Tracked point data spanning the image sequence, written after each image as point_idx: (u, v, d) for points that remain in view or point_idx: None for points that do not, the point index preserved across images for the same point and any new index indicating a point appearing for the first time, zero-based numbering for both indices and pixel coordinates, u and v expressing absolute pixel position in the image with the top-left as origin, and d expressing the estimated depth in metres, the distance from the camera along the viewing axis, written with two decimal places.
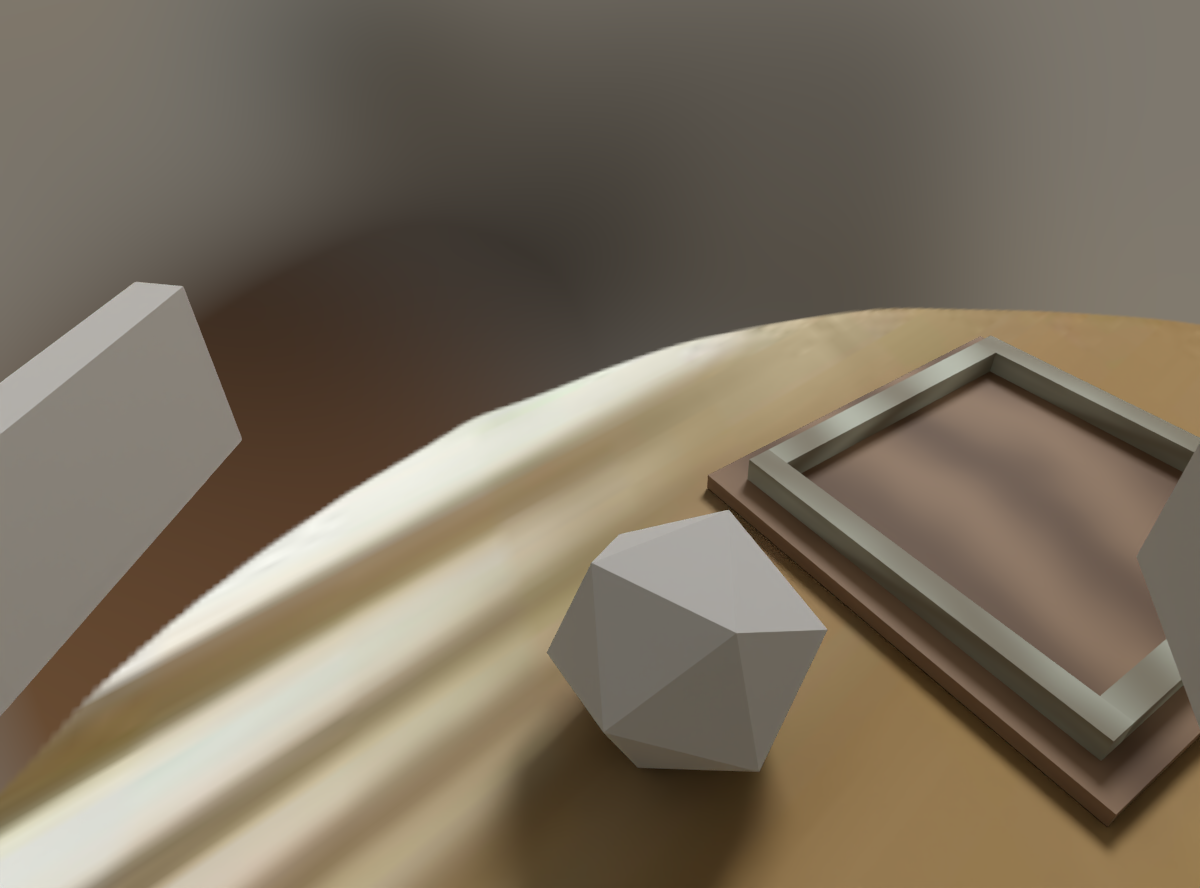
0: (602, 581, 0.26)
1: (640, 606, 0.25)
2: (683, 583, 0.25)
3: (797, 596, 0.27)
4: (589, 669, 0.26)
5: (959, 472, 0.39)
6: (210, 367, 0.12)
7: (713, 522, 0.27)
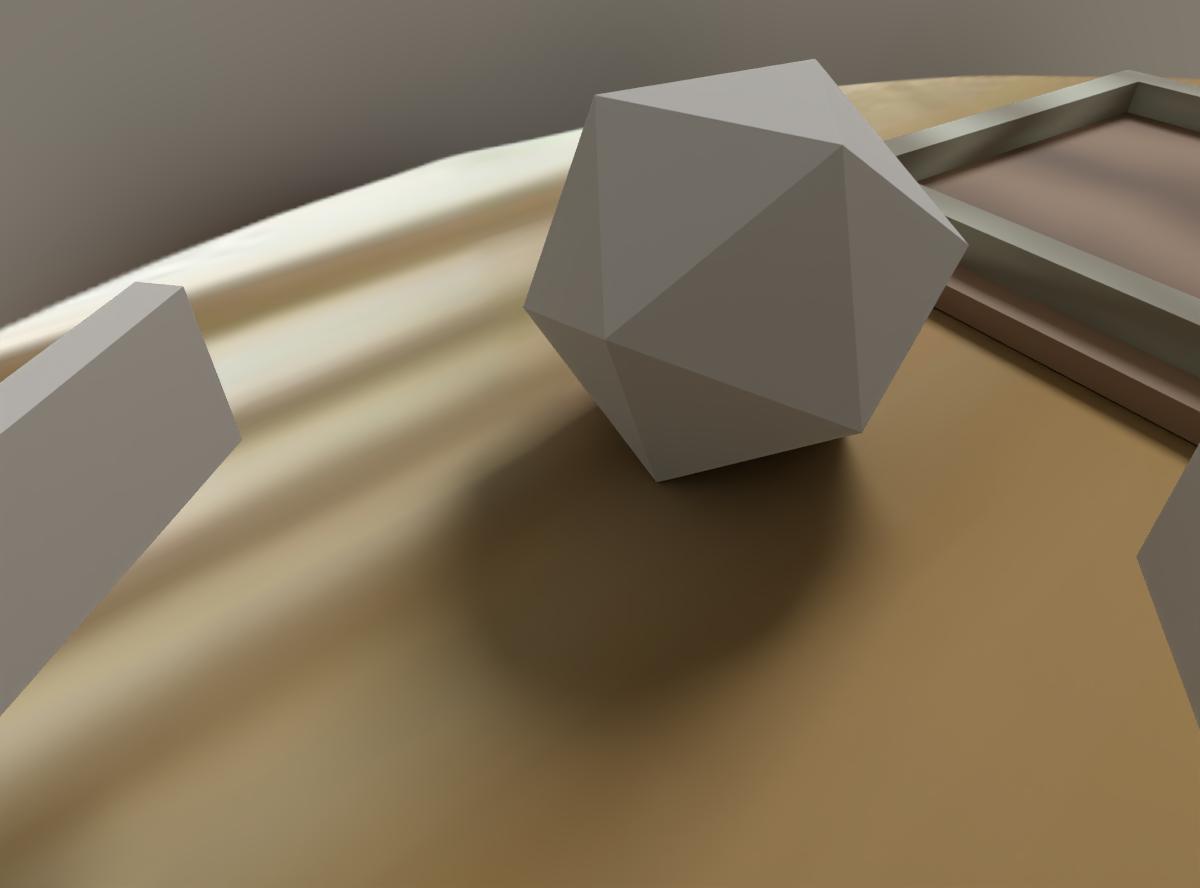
0: (611, 117, 0.16)
1: (674, 140, 0.15)
2: (746, 108, 0.15)
3: (922, 190, 0.17)
4: (585, 263, 0.16)
5: (1105, 191, 0.28)
6: (210, 367, 0.12)
7: (791, 67, 0.17)
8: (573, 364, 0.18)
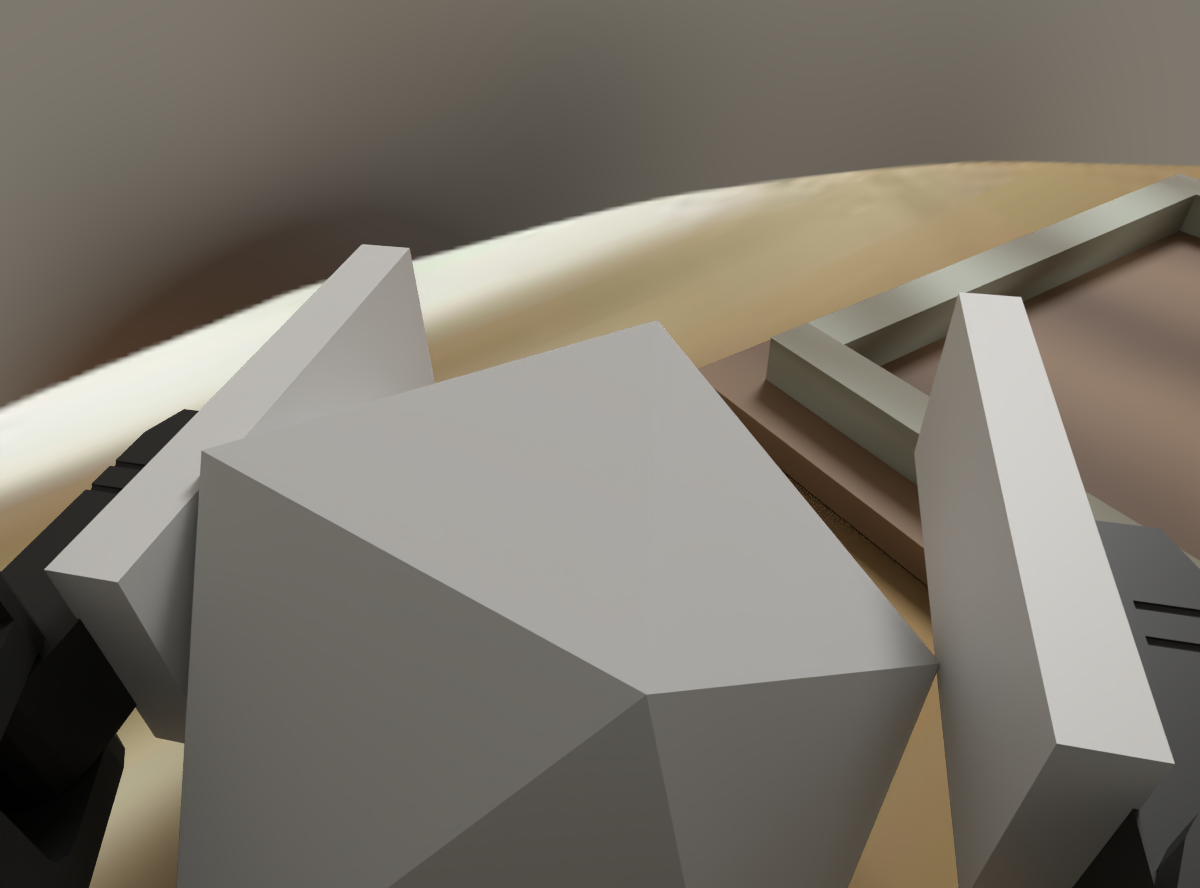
0: (224, 508, 0.08)
1: (324, 590, 0.07)
2: (479, 509, 0.07)
3: (853, 566, 0.09)
4: None
5: (1170, 376, 0.20)
6: (421, 326, 0.13)
7: (609, 348, 0.09)
8: None
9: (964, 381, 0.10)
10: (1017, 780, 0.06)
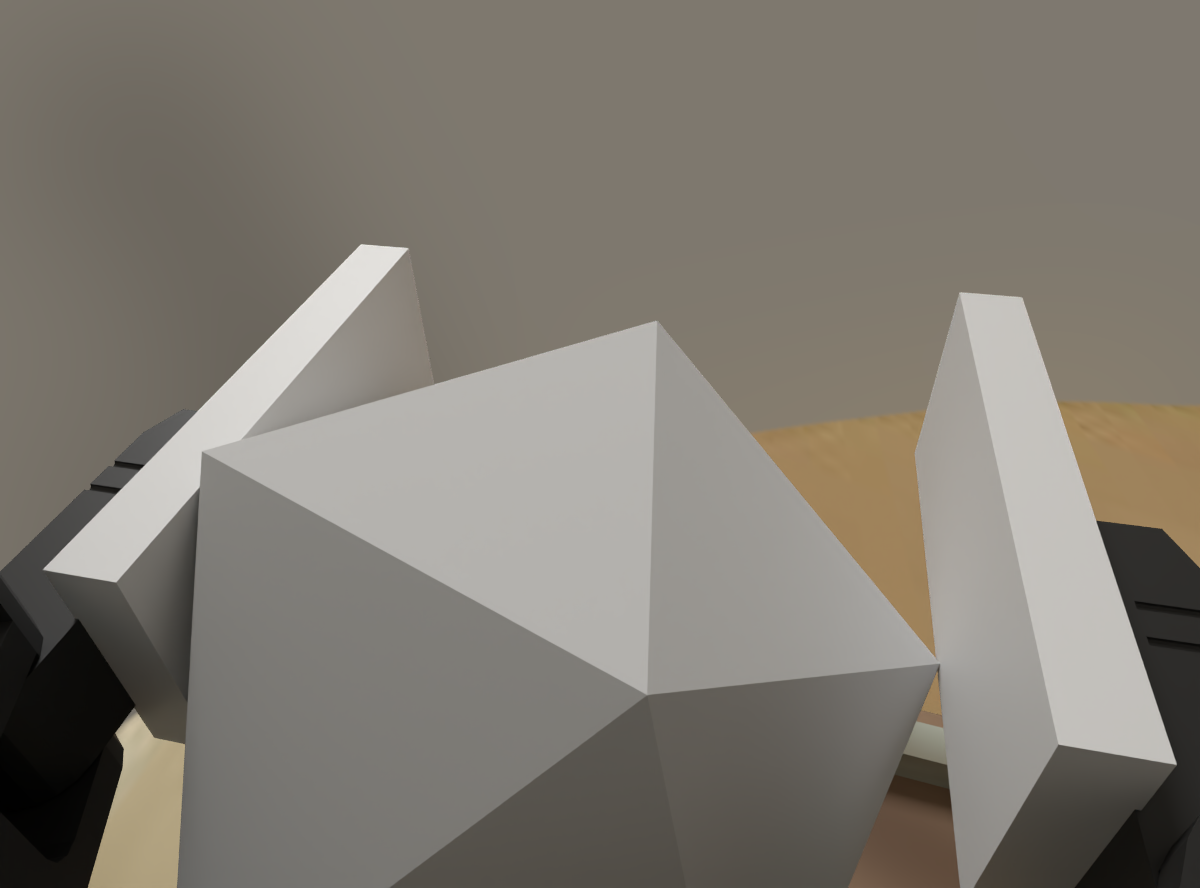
0: (224, 509, 0.08)
1: (325, 590, 0.07)
2: (479, 510, 0.07)
3: (853, 566, 0.09)
4: None
5: None
6: (421, 326, 0.13)
7: (609, 348, 0.09)
8: None
9: (965, 382, 0.10)
10: (1019, 781, 0.06)
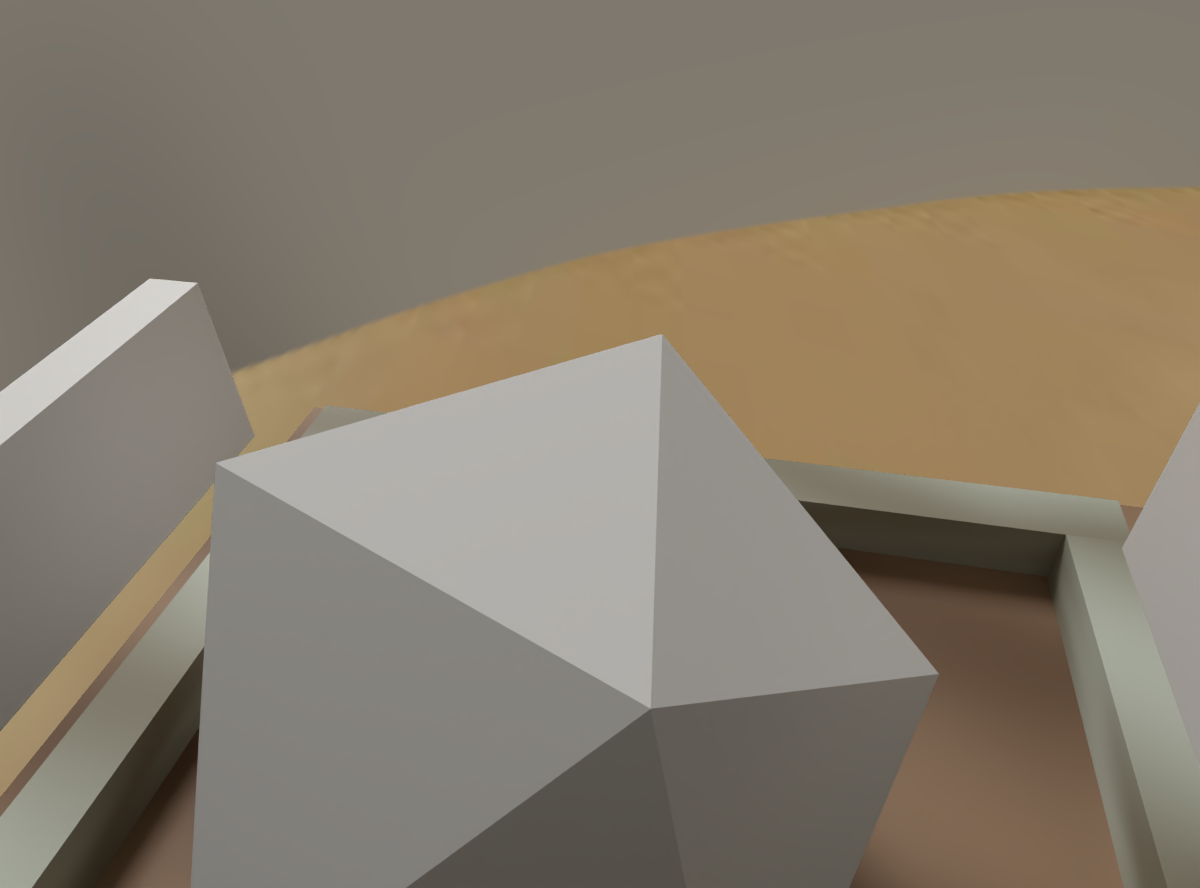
0: (237, 520, 0.08)
1: (335, 602, 0.07)
2: (487, 523, 0.07)
3: (854, 577, 0.10)
4: None
5: None
6: (223, 363, 0.12)
7: (614, 362, 0.09)
8: None
9: None
10: None
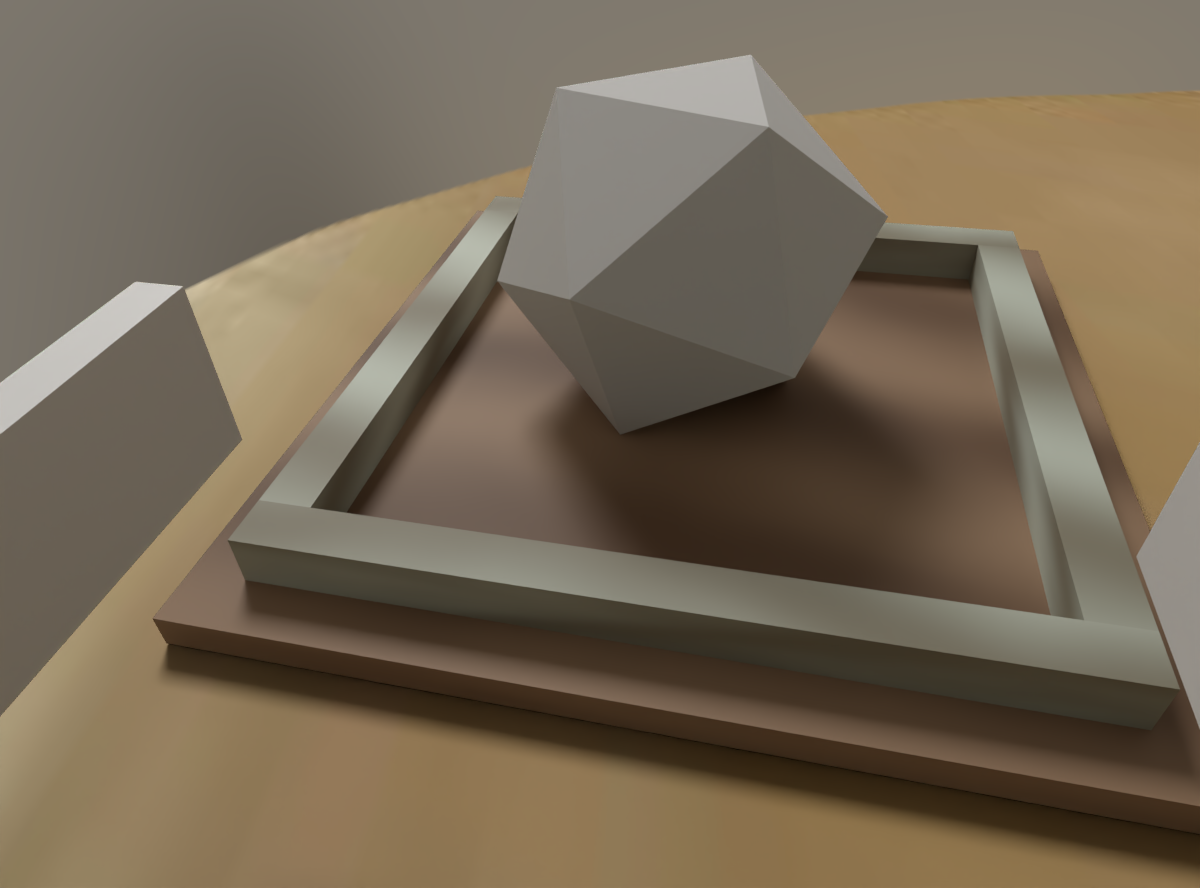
0: (571, 107, 0.18)
1: (626, 126, 0.17)
2: (688, 97, 0.17)
3: (846, 169, 0.19)
4: (551, 235, 0.18)
5: None
6: (210, 367, 0.12)
7: (730, 62, 0.19)
8: (543, 329, 0.21)
9: None
10: None
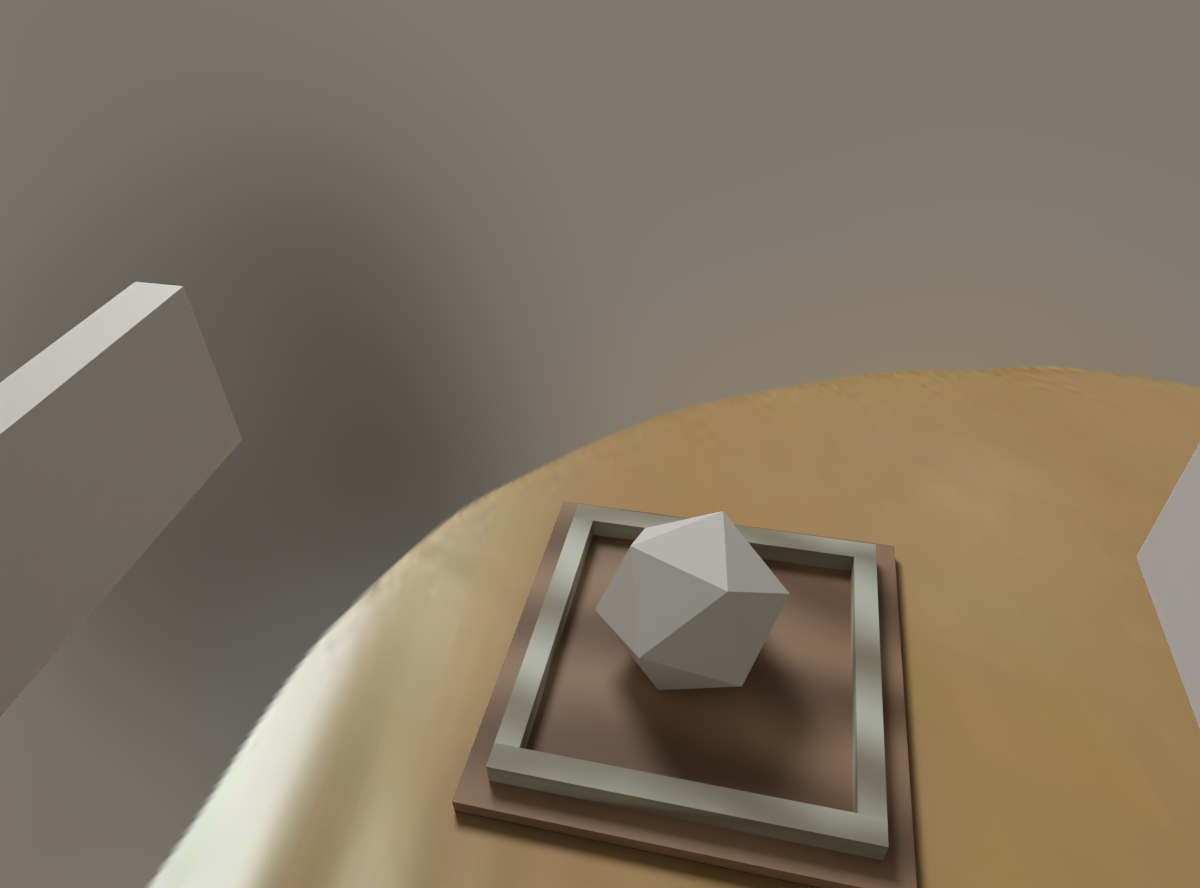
0: (638, 558, 0.38)
1: (664, 575, 0.38)
2: (692, 559, 0.38)
3: (769, 570, 0.40)
4: (628, 617, 0.39)
5: None
6: (210, 367, 0.12)
7: (712, 519, 0.40)
8: (619, 640, 0.41)
9: None
10: None
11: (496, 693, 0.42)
